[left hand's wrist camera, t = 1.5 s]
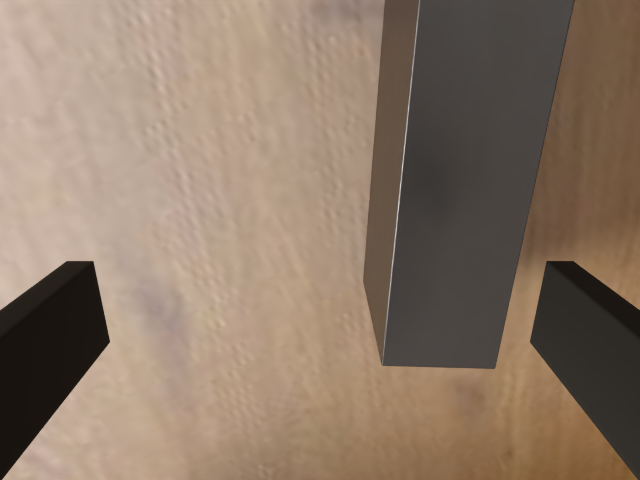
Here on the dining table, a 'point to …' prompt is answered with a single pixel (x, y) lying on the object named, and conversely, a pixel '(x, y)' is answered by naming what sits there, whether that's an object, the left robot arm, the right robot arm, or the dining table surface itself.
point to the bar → (455, 171)
